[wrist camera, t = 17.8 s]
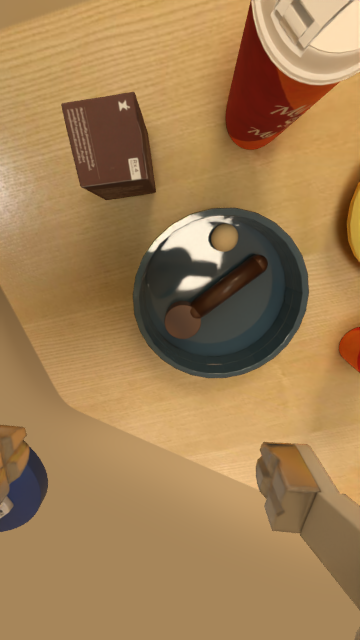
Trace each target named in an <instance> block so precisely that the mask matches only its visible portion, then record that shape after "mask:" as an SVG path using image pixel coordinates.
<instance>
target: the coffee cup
mask: <svg viewBox="0 0 360 640" xmlns="http://www.w3.org/2000/svg"><path fill="white" fill-rule="evenodd" d="M359 72H360V0H251V2H250V6H249V11H248V15H247V19H246V24H245V28H244V32H243V36H242V41H241V45H240V49H239V54H238V58H237V62H236V67H235V71H234V75H233V80H232V84H231V89H230V93H229V98H228V103H227V109H226V127H227V130H228V133H229V135H230V137H231V139H232V140H233V141H234V143H236V144H237V145H238V146H240V147H241V148H244V149H249V150H253V149H258V148H261V147H263V146H265V145H266V144H268V143H269V142H271V141H272V140H273V139H274V138H275V137H277V136H278V135H279V134H280V133H281V132H283V131H284V130H285V129H286V128H287V127H288V126H290V125H291V124H292V123H293V122H294V121H295V120H297V119H298V118H299V117H300V116H301V115H302V114H304V113H305V112H306V111H307V110H308V109H309V108H310V107H312V106H313V105H314V104H315V103H316V102H317V101H318V100H320V99H321V98H322V97H323V96H324V95H325V94H326V93H328V92H329V91H330V90H331V89H332V88H333V87H334V86H336V85H337V84H338V83H339V82H340V81H343V80H346V79H348V78H350V77H352V76H353V75H355V74H357V73H359Z"/></svg>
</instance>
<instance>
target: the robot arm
mask: <svg viewBox="0 0 360 640" xmlns="http://www.w3.org/2000/svg"><path fill="white" fill-rule="evenodd" d="M25 437H26V430H25V428H24V427H18V426H7V425H0V518H2V517H3V516H4V515H6V514H7V513H9V511H10V510H11V509H12V507H13V503H12V501H11V500H10V499H9V498H8V497H7V494H8V493H9V484H10V483H11V482H13V481H14V480H16V479H17V478H19V477H20V475H21V474H22V472H23V470H24V469H25V467H26V464H27V462H28V459H29V452H30V450H29V445H28V444H27V443H26V442H25V441H24V438H25ZM260 452H261V454H262V456H261V457H260V458H259V459H258V460H257V464H256V479H257V484H258V487H259V490H260V492H261V493H262V494H263V495H264V497H265V498H266V499H267V500H266V503H265V510H266V513H267V516H268V519H269V522H270V525H271V528H272V531H281V532H291V533H301V534H300V536H301V537H302V538H303V539H304V541H305V542H306V543H307V544H308V546H309V547H310V548H311V550H312V551H313V552H314V553H315V554H316V556H317V557H318V558H319V560H320V561H321V562H322V563H323V565H324V566H325V567H326V568H327V570H328V571H329V572H330V573H331V575H332V576H333V577H334V578H335V580H336V581H337V582H338V583H339V585H340V586H341V587H342V588H343V590H344V591H345V592H346V594H347V595H348V596H349V597H350V599H351V600H352V601H353V602H354V603H355V605H356V606H357V607H358V609H359V610H360V506H359V505H358V504H357V503H355V502H354V501H353V500H352V499H351V498H349V497H348V496H347V495H346V494H340V493H339V491H338V489H337V488H336V486H335V485H334V483H333V481H332V480H331V478H330V477H329V475H328V474H327V472H326V470H325V469H324V467H323V466H322V464H321V462H320V461H319V459H318V458H317V456H316V455H315V453H314V451H313V450H312V448H311V447H310V446H309V445H307V444H291V443H273V442H263V444H262V445H261V448H260ZM355 640H360V627H359V629H358V630H357V632H356V635H355Z"/></svg>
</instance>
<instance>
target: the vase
mask: <svg viewBox="0 0 360 640" xmlns="http://www.w3.org/2000/svg"><path fill="white" fill-rule="evenodd" d="M347 233H348V242H349V244H350V247H351V249H352V252H353V254H354V256H355V257H356V259H357V260H358V261H359V262H360V182H359V183H358V185H357V188H356V190H355V193H354V195H353V198H352V200H351V203H350V207H349V213H348V219H347Z"/></svg>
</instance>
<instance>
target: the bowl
mask: <svg viewBox="0 0 360 640" xmlns="http://www.w3.org/2000/svg"><path fill="white" fill-rule="evenodd" d="M221 224H230V225H232V226H233V227H235V229H236V230H237V232H238V241H237V244H236V245H235V247H234V248H233V249H231V250H229V251H226V252H221V251H218V250H217V249H215V248H214V246H213V244H212V241H211V236H212V233H213V231H214V229H215V228H216V227H217V226H219V225H221ZM256 254H260V255H263V256H264V257H266V259H267V261H268V267H267V269H266V271H265V272H264V273H262V274H261V275H260V276H258V277H257V278H256V279H254V280H253V281H251V282H250V283H249V284H247V285H246V286H245V287H243V288H242V289H241V290H239V291H238V292H236V293H235V294H234V295H232V296H231V297H230V298H228V299H227V300H226V301H224V302H223V303H221V304H220V305H219V306H217V307H216V308H215V309H213V310H212V311H211V312H209V313H208V314H206V315H205V316H204V317H202V318H201V325H200V329H199V330H198V332H197V333H196V334H195V335H194V336H192V337H190V338H187V339H179V338H175V337H173V336H172V335H171V334H169V332H168V331H167V329H166V327H165V316H166V312H167V310H168V308H169V307H170V306H171V305H172V304H173V303H175V302H178V301H187V302H190V303H191V302H192V301H194V300H195V299H196V298H198V297H199V296H200V295H201V294H203V293H204V292H205V291H207V290H208V289H209V288H211V287H212V286H213V285H215V284H216V283H217V282H219V281H220V280H221V279H223V278H224V277H225V276H226V275H228V274H229V273H230V272H232V271H233V270H234V269H236V268H237V267H238V266H240V265H241V264H242V263H244V262H245V261H246V260H248V259H249V258H250V257H252V256H253V255H256ZM308 295H309V287H308V274H307V270H306V266H305V263H304V260H303V257H302V255H301V253H300V251H299V249H298V248H297V246H296V245H295V243H294V241H293V240H292V238H291V237H290V236H289V235H288V234H287V233H286V232H285V231H284V230H283V229H282V228H281V227H279V226H278V225H277V224H276V223H275V222H273V221H271V220H269V219H268V218H266V217H264V216H262V215H260V214H258V213H256V212H251V211H247V210H243V209H239V208H212V209H208V210H204V211H200V212H197V213H193V214H190V215H188V216H186V217H185V218H183V219H181V220H179V221H177V222H175V223H174V224H172V225H171V226H169V227H168V228H167V229H166V230H165V231H164V232H163V233H162V234H161V235H159V236H158V237H157V238H156V239H155V240H154V242H153V243H152V245H151V246H150V248H149V249H148V250H147V252H146V253H145V255H144V256H143V258H142V261H141V263H140V266H139V268H138V271H137V273H136V276H135V283H134V290H133V304H134V315H135V318H136V321H137V324H138V327H139V330H140V332H141V334H142V336H143V337H144V339H145V341H146V342H147V344H148V346H149V347H150V348H151V349H152V350H153V351H154V352H155V353H156V354H157V355H158V356H159V357H160V358H161V359H162V360H164V361H165V362H166V363H168V364H169V365H171V366H172V367H174V368H176V369H178V370H180V371H183V372H185V373H188V374H190V375H194V376H199V377H205V378H228V377H232V376H237V375H242V374H245V373H247V372H250V371H252V370H255V369H257V368H259V367H261V366H262V365H264V364H265V363H267V362H269V361H270V360H272V359H273V358H274V357H276V356H277V355H278V354H279V353H280V352H281V351H282V350H283V349H284V348H285V347H286V346H287V345H288V344H289V342H290V341H291V339H292V338H293V336H294V335H295V333H296V332H297V330H298V329H299V327H300V324H301V322H302V319H303V317H304V314H305V312H306V307H307V301H308Z"/></svg>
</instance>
